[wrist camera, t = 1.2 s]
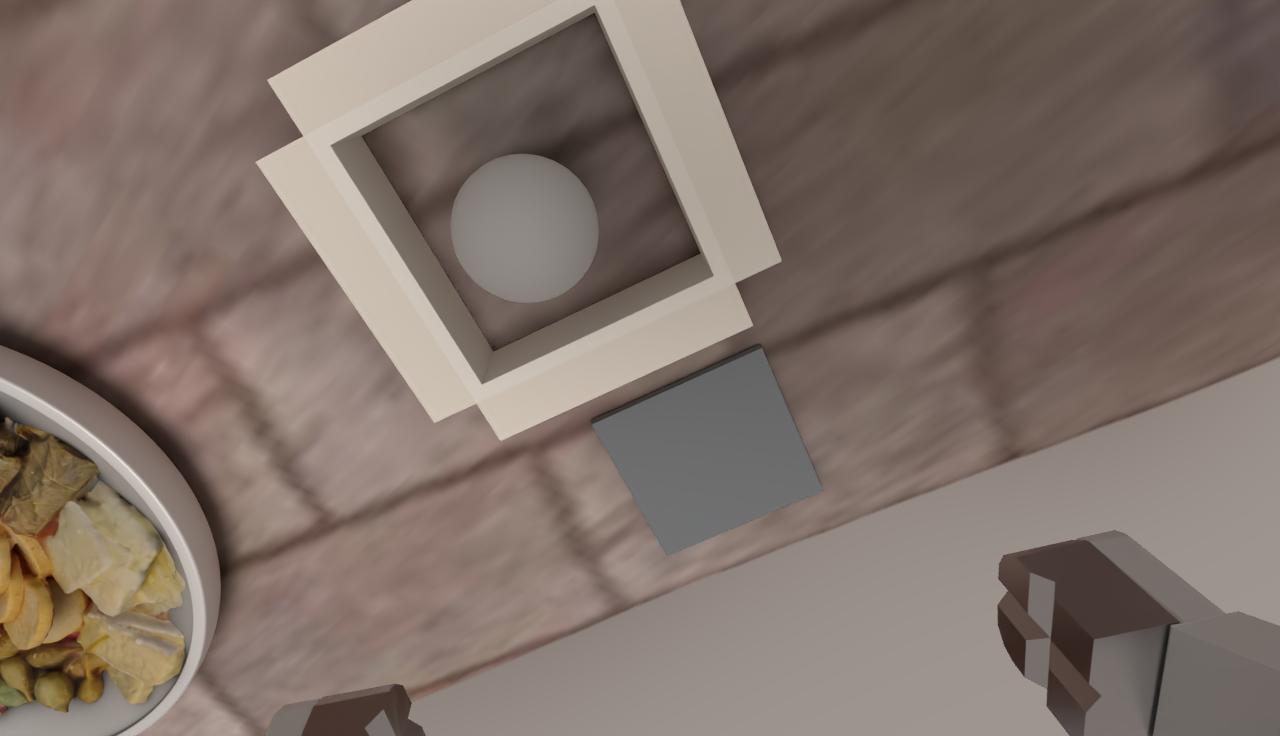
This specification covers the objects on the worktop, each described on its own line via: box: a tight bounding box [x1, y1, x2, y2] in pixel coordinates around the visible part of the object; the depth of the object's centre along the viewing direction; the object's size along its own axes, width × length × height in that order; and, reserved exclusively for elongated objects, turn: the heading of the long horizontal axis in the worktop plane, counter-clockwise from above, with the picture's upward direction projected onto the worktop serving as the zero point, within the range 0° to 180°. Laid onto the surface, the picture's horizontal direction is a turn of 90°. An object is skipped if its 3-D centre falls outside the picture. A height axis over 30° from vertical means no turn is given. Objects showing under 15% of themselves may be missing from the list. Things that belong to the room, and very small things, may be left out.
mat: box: [592, 344, 823, 556], centre depth 43 cm, size 11×11×1 cm
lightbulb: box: [451, 154, 599, 303], centre depth 31 cm, size 6×6×11 cm
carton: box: [256, 0, 782, 441], centre depth 34 cm, size 20×20×4 cm
